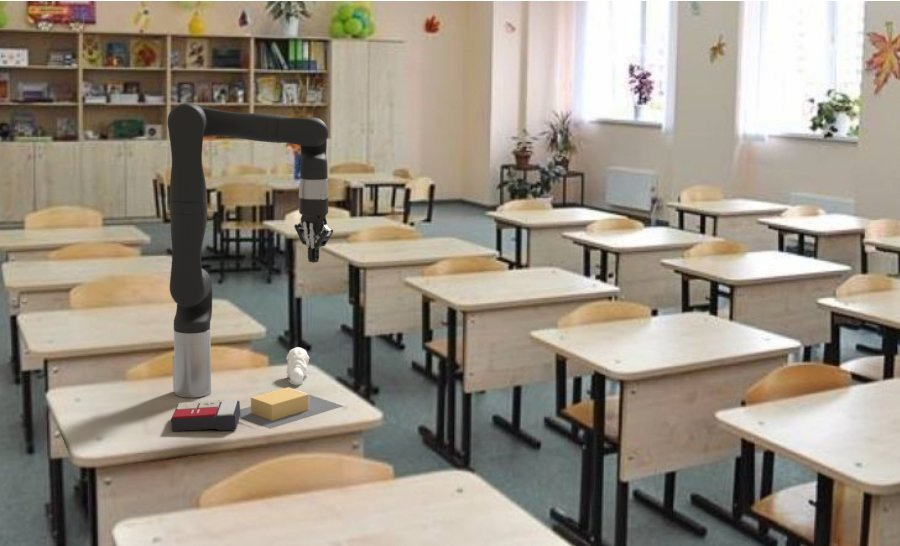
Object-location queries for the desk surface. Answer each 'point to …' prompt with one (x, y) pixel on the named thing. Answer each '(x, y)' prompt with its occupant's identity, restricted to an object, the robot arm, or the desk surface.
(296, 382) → the white figurine
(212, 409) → the red and grey box
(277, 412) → the ochre block
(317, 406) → the charcoal mat
